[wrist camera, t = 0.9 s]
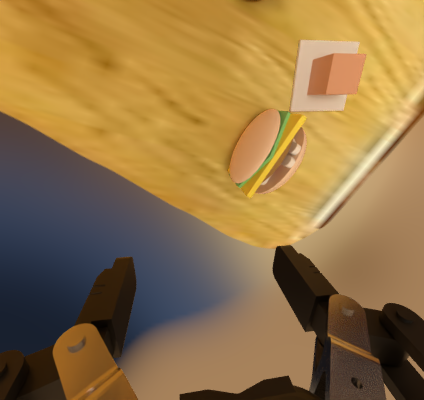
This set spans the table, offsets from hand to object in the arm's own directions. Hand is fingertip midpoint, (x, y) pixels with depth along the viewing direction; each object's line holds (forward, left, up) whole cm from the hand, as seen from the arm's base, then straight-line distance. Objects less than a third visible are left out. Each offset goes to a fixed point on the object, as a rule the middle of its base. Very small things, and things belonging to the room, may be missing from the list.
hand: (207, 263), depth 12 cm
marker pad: (-12, +23, -28) cm, 38 cm away
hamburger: (-1, +12, -28) cm, 31 cm away
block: (-12, +23, -28) cm, 38 cm away
